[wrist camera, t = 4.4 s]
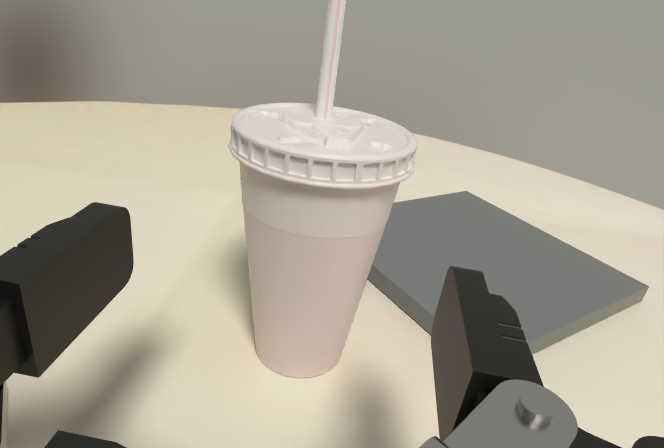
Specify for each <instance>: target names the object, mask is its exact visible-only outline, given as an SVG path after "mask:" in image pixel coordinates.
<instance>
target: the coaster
mask: <svg viewBox="0 0 664 448" xmlns="http://www.w3.org/2000/svg"><path fill="white" fill-rule="evenodd" d="M450 266H455V267H461V268H466V269H472V270H477V271H482V272H483V274H484V278H485V281H486V284H487V287H488V291H489V294H495V295H500V296H503V298H504V299H505V300H506V301H507V302H508V303H509V304H510V305H511V306H512V307H513V308H514V309H515V311H516V313H517V316H518V318H519V321H520V324H521V329H523V332H524V335H525V337H526V343H528V345H529V348H530V351H531V354H534V353H536V352H538V351H540V350H542V349H544V348H546V347H548V346H550V345H552V344H554V343H556V342H559V341H561V340H563V339H565V338H567V337H569V336H571V335H573V334H575V333H577V332H579V331H581V330H583V329H585V328H587V327H589V326H591V325H593V324H595V323H597V322H600V321H602V320H604V319H606V318H608V317H610V316H612V315H614V314H616V313H618V312H620V311H622V310H624V309H626V308H628V307H630V306H632V305H634V304H636V303H638V302H640V301H642V299H643V297H644V296H645V294H646V292H647V290H648V288H649V286H647V285H645V284H643V283H641V282H639V281H637V280H636V279H634V278H632V277H630V276H628V275H626V274H624V273H622V272H620V271H618V270H616V269H614V268H613V267H611V266H609V265H607V264H605V263H603V262H601V261H599V260H597V259H595V258H593V257H592V256H590V255H588V254H586V253H584V252H582V251H580V250H578V249H576V248H574V247H572V246H571V245H569V244H567V243H565V242H563V241H561V240H559V239H557V238H555V237H553V236H551V235H550V234H548V233H546V232H544V231H542V230H540V229H538V228H536V227H534V226H532V225H530V224H529V223H527V222H525V221H523V220H521V219H519V218H517V217H515V216H513V215H511V214H509V213H508V212H506V211H504V210H502V209H500V208H498V207H496V206H494V205H492V204H490V203H488V202H487V201H485V200H483V199H481V198H479V197H477V196H475V195H473V194H471V193H469V192H467V191H464V192H457V193H451V194H445V195H439V196H433V197H427V198H421V199H415V200H408V201H402V202H396V203H393V205H392V209H391V212H390V215H389V218H388V220H387V223H386V225H385V228H384V231H383V234H382V237H381V240H380V243H379V246H378V249H377V252H376V255H375V257H374V260H373V263H372V266H371V269H370V272H369V275H368V278H367V279H368V280H369V281H370V282H372V283H373V284H374V285H375V286H376V287H377V288H378V289H380V290H381V291H382V292H383V293H384V294H385V295H386V296H387V297H389V298H390V299H391V300H392V301H393V302H394V303H395V304H396V305H398V306H399V307H400V308H401V309H402V310H403V311H404V312H405V313H407V314H408V315H409V316H410V317H411V318H412V319H413V320H415V321H416V322H417V323H418V324H419V325H420V326H421V327H422V328H424V329H425V330H426V331H427V332H428V333H429V334H430V335H431V332H432V325H433V320H434V316H435V312H436V309H437V305H438V302H439V298H440V295H441V291H442V288H443V284H444V281H445V277H446V274H447V271H448V269H449V267H450Z"/></svg>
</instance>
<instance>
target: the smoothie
mask: <svg viewBox="0 0 664 448" xmlns="http://www.w3.org/2000/svg"><path fill="white" fill-rule="evenodd" d="M345 6H346V0H328V8H327V17H326V26H325V35H324V45H323V53H322V62H321V71H320V80H319V88H318V98H317V104H306V103H273V104H272V103H271V104H263V105H256V106H252V107H248V108H245V109H243V110H241V111H239V112H237V113H236V114H235V115H234V116H233V117H232V119H231V139H230V142H229V145H228V147H229V149H230V151H231V153H232V156H233V157H235V158H236V159H237V160H238V161H239V162H240V176H241V191H242V202H243V211H244V222H245V233H246V245H247V256H248V267H249V279H250V290H251V301H252V313H253V324H254V335H255V347H256V352H257V355H258V357H259V358H260V360H261V361H262V362H263V363H264V364H265V365H266V366H267V367H268V368H270V369H271V370H273V371H275V372H277V373H279V374H282V375H285V376H289V377H295V378H309V377H315V376H319V375H321V374H324V373H326V372H328V371H329V370H331V369H332V368H333V367H334V366H335V365H336V364H337V363H338V361H339V359H340V356H341V353H342V351H343V348H344V345H345V342H346V339H347V336H348V333H349V330H350V327H351V324H352V321H353V319H354V316H355V313H356V310H357V307H358V304H359V301H360V298H361V295H362V292H363V289H364V287H365V284H366V281H367V278H368V275H369V272H370V269H371V266H372V263H373V260H374V257H375V255H376V252H377V249H378V246H379V243H380V240H381V237H382V234H383V231H384V228H385V225H386V223H387V220H388V218H389V215H390V212H391V209H392V205H393V202H394V199H395V196H396V193H397V190H398V187H399V184H400V182H401V181H404V180H406V179H407V178H408V177H409V176H410V175H411V174H412V173H413V172H414V157H415V153H416V149H417V145H418V143H417V140H416V138H415V137H414V136H413V134H412V133H411V132H410V131H408V130H407V129H405V128H404V127H402V126H400V125H398V124H396V123H394V122H392V121H389V120H387V119H384V118H381V117H378V116H375V115H372V114H368V113H364V112H360V111H356V110H351V109H346V108H341V107H334V106H333V100H334V92H335V84H336V77H337V69H338V61H339V53H340V45H341V38H342V30H343V22H344V13H345Z"/></svg>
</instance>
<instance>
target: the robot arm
mask: <svg viewBox="0 0 664 448" xmlns="http://www.w3.org/2000/svg"><path fill="white" fill-rule="evenodd" d="M132 270H133V248H132V235H131V221H130V214H129V212H128V210H127V209H126V208H124V207H120V206H114V205H108V204H103V203H97V202H94V203H91V204H90V205H88V206H87V207H85V208H84V209H82V210H81V211H79V212H78V213H76V214H75V215H73V216H72V217H69V218H66V219H63V220H61V221H58V222H55V223H52V224H49V225H47V226H45V227H44V228H42V229H41V230H39V231H38V232H36V233H35V234H33V235H32V236H31V238H27V239H25V240H24V241H22V242H21V243H19V244H18V246H17V247H13V248H12V249H10V250H9V251H7V252H5V253H4V254H2V255H1V256H0V448H7V422H8V387H7V383H6V380H7V379H8V378H9V377H10V376H11V375H12V374H13V373H18V374H23V375H28V376H33V377H38V378H39V377H40V376H41V375H42V374H43V372H44V371H45V370H46V369H47V368H48V367H49V366H50V365H51V364H52V363H53V362H54V361H55V360H56V359H57V358H58V357H59V356H60V354H61V353H62V352H63V351H64V350H65V349H66V348H67V347H68V346H69V345H70V344H71V343H72V342H73V341H74V340H75V339H76V338H77V336H78V335H79V334H80V333H81V332H82V331H83V330H84V329H85V328H86V327H87V326H88V325H89V324H90V323H91V322H92V321H93V320H94V318H95V317H96V316H97V315H98V314H99V313H100V312H101V311H102V310H103V309H104V308H105V307H106V306H107V305H108V304H109V303H110V301H111V300H112V299H113V298H114V297H115V296H116V295H117V294H118V293H119V292H120V291H121V290H122V289H123V288H124V287H125V285H126V284H127V283H128V281H129V279H130V277H131V274H132ZM431 348H432V359H433V370H434V381H435V392H436V403H437V414H438V425H439V436H440V439H439V438H438V437H436V436H434V437H431V438H430V439H428V440H427V441H426V442H425V443H424V444H423V445H422V446H421V447H420V448H621V447H619V446H617V445H615V444H612V443H610V442H608V441H605V440H603V439H601V438H599V437H596V436H594V435H592V434H590V433H588V432H586V431H584V430H582V429H580V428H579V427H578V425H577V421H576V418H575V416H574V414H573V412H572V410H571V409H570V408H569V407H568V405H567V404H566V403H565V402H564V401H563V400H562V399H561V398H560V397H558V396H557V395H556V394H554V393H553V392H551V391H550V390H548V389H546V388H545V387H544V386H543V383H542V381H541V378H540V375H539V373H538V370H537V367H536V364H535V362H534V359H533V356H532V354H531V351H530V348H529V345H528V343H526V337H525V335H524V332H523V329H521V324H520V321H519V318H518V316H517V313H516V311H515V309H514V308H513V307H512V306H511V305H510V304H509V303H508V302H507V301H506V300H505V299H504V298H503V296H500V295H495V294H489V291H488V287H487V284H486V281H485V278H484V274H483V272H482V271H477V270H472V269H466V268H461V267H455V266H450V267H449V269H448V271H447V274H446V277H445V281H444V284H443V288H442V291H441V295H440V298H439V302H438V305H437V309H436V312H435V316H434V320H433V325H432V332H431ZM45 448H126V447H124V446H122V445H120V444H118V443H116V442H112V441H107V440H102V439H97V438H92V437H88V436H83V435H78V434H73V433H68V432H64V431H59V430H58V431H57V432H56V434H55V435H54V436H53V437H52V439H51V440H50V441H49V443H48V444H47V445H46V446H45ZM632 448H664V438H663V437H657V436H646V437H642V438H640V439H638V440H637V441H636V442H635V443H634V445H633V447H632Z"/></svg>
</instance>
